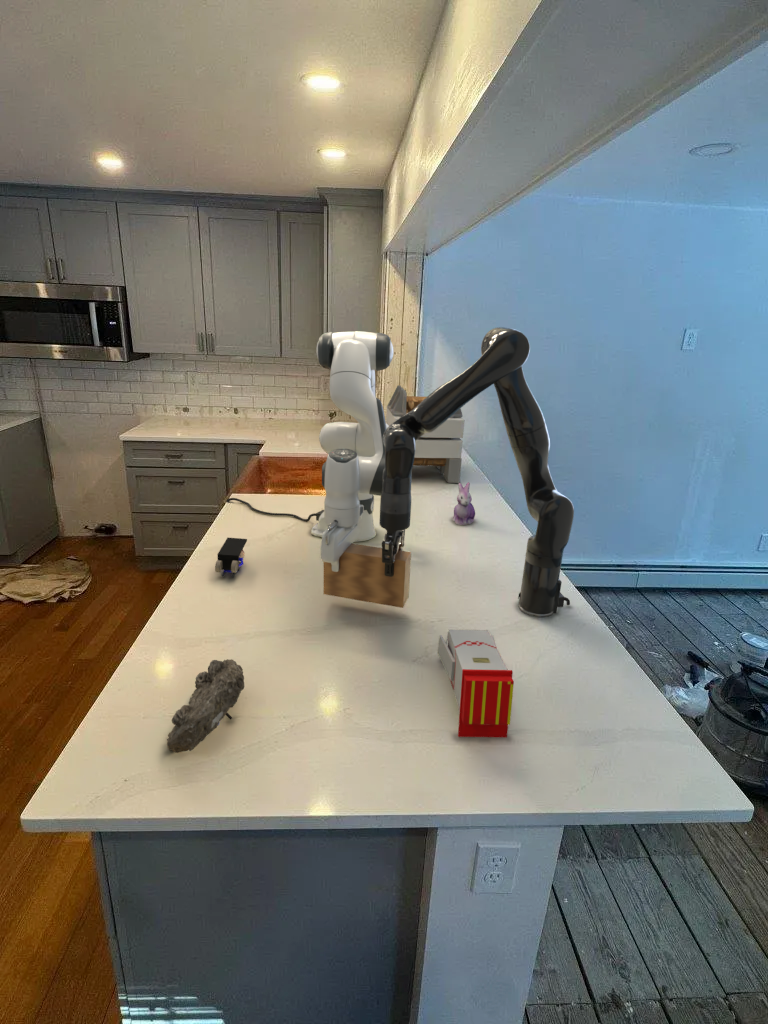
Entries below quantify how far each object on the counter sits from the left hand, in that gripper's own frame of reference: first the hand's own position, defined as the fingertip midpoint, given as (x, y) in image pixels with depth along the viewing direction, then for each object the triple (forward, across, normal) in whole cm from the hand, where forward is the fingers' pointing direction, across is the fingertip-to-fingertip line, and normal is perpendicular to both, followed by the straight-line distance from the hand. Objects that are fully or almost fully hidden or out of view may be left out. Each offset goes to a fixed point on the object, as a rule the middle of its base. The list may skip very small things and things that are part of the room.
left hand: (340, 564), depth 147 cm
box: (+8, 0, -7) cm, 11 cm away
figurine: (+12, +76, -22) cm, 80 cm away
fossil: (+12, -49, +8) cm, 51 cm away
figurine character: (+12, +8, +37) cm, 40 cm away
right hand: (-1, 0, -14) cm, 14 cm away
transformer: (+12, +134, +8) cm, 135 cm away
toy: (+12, -25, -38) cm, 47 cm away
